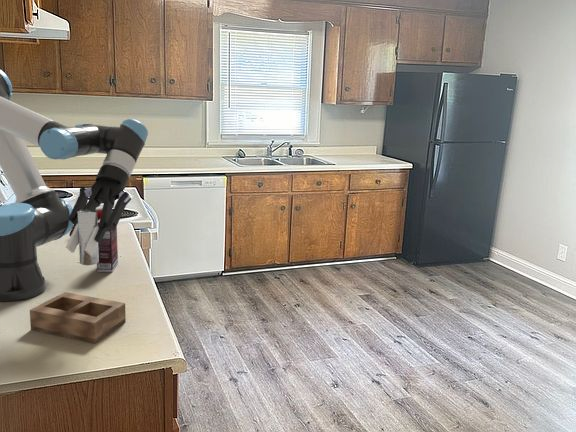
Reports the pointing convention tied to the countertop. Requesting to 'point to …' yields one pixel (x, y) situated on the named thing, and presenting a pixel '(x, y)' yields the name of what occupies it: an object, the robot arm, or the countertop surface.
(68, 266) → the countertop surface
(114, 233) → the supplement box
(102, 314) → the socket block
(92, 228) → the pin
